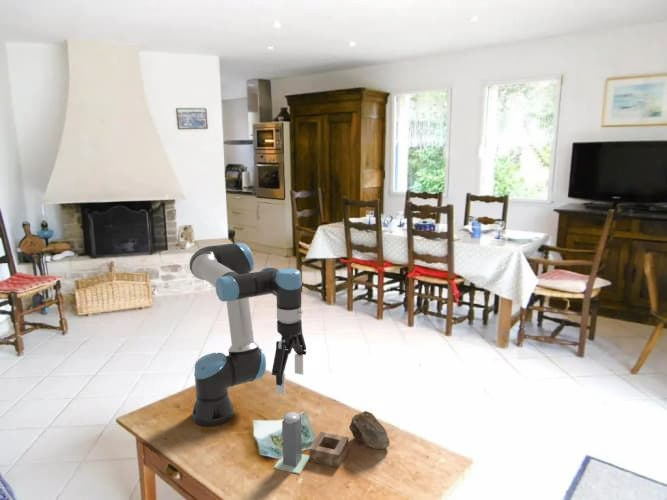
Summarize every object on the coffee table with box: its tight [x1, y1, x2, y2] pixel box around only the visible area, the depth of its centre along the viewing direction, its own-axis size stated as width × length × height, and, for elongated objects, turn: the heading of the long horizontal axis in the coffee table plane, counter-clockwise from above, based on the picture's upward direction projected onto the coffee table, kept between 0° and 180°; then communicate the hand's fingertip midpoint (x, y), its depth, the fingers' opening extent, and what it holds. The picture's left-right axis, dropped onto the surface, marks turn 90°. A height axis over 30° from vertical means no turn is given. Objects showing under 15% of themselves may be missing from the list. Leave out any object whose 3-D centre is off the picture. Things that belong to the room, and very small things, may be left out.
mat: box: [273, 453, 310, 475], centre depth 153 cm, size 9×9×1 cm
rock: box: [349, 410, 391, 450], centre depth 162 cm, size 15×8×15 cm
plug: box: [281, 411, 303, 467], centre depth 151 cm, size 5×5×16 cm
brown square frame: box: [309, 431, 349, 468], centre depth 156 cm, size 10×10×4 cm
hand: (290, 383), depth 149 cm, fingers open, 13 cm apart
